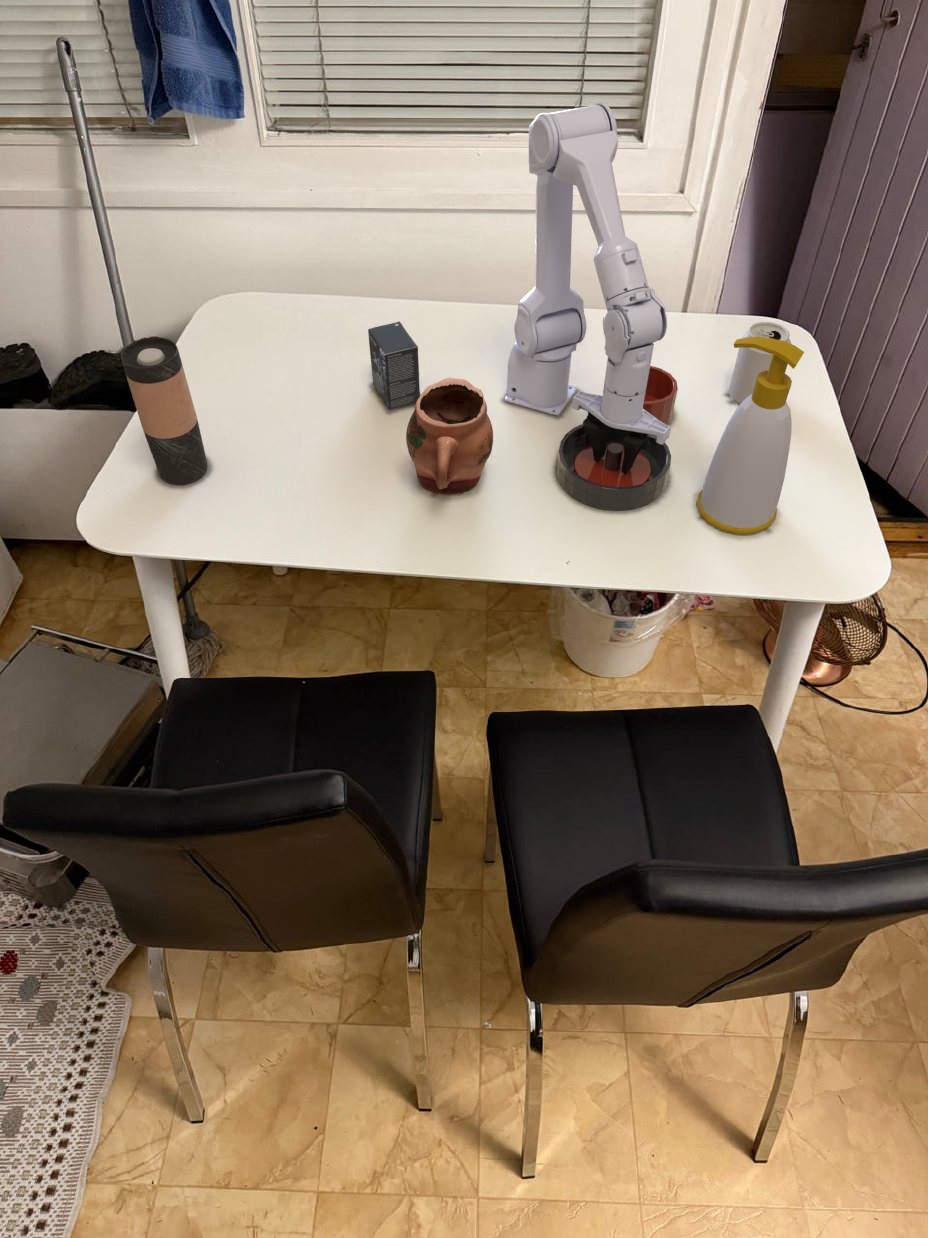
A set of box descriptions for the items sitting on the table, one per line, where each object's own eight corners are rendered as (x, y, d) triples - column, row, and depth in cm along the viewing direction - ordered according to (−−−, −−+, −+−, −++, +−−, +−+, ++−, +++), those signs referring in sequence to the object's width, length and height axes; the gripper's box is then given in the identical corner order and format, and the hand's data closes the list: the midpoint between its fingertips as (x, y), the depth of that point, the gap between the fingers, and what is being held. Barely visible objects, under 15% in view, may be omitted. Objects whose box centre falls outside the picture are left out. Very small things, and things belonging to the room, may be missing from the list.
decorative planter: (493, 529, 128) (496, 450, 118) (406, 530, 128) (401, 450, 117) (489, 441, 141) (492, 362, 131) (410, 441, 141) (406, 362, 131)
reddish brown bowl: (596, 421, 145) (600, 392, 141) (619, 386, 151) (623, 358, 147) (659, 439, 142) (665, 410, 137) (679, 403, 148) (686, 374, 144)
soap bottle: (709, 474, 136) (751, 313, 116) (786, 500, 132) (842, 338, 112) (682, 518, 129) (721, 355, 110) (761, 547, 126) (816, 383, 106)
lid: (559, 477, 135) (562, 453, 131) (597, 439, 141) (601, 415, 137) (626, 506, 130) (630, 483, 127) (663, 466, 136) (668, 442, 133)
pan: (539, 490, 133) (541, 468, 130) (580, 429, 143) (583, 408, 140) (645, 524, 129) (649, 502, 126) (680, 458, 138) (685, 437, 135)
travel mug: (219, 459, 138) (189, 342, 123) (193, 491, 133) (158, 372, 118) (174, 449, 140) (140, 331, 125) (147, 480, 135) (107, 361, 120)
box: (372, 385, 151) (367, 327, 143) (404, 377, 152) (401, 320, 145) (388, 411, 146) (383, 353, 138) (421, 403, 148) (418, 345, 140)
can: (774, 413, 146) (795, 346, 137) (727, 407, 147) (744, 341, 138) (773, 386, 151) (793, 320, 142) (727, 381, 152) (744, 315, 143)
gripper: (687, 388, 124) (670, 467, 134) (594, 353, 129) (584, 432, 139) (662, 414, 120) (647, 493, 130) (567, 377, 125) (560, 456, 136)
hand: (613, 463), depth 134 cm, fingers open, 4 cm apart
